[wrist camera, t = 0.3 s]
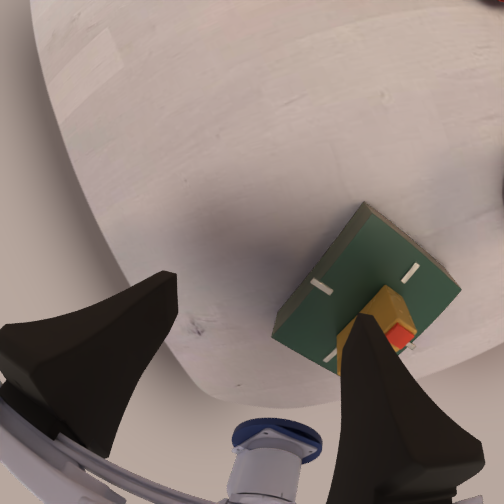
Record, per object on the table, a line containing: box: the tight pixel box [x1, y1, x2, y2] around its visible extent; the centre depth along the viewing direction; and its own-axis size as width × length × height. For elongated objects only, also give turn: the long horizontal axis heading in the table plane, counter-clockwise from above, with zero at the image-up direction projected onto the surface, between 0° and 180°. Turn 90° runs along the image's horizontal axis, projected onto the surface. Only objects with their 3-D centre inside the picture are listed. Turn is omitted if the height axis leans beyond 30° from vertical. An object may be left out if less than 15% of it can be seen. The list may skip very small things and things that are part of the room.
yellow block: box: [336, 285, 417, 376], centre depth 15 cm, size 5×2×4 cm, turn 149°
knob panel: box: [271, 202, 462, 377], centre depth 18 cm, size 10×9×3 cm
